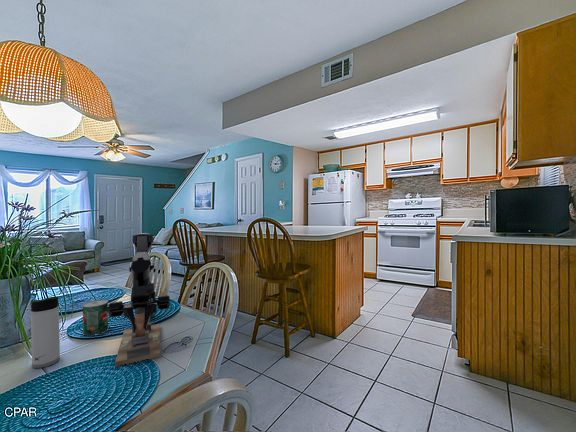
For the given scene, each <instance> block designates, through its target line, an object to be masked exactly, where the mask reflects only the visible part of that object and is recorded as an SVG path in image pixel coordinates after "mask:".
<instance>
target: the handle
mask: <svg viewBox="0 0 576 432" xmlns="http://www.w3.org/2000/svg"><path fill="white" fill-rule="evenodd" d="M134 318H135V333H133V334H132V338H131V345H135V344H140V343H145V342H149V331H145V308H144V307H139V308H136V309H134Z"/></svg>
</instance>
